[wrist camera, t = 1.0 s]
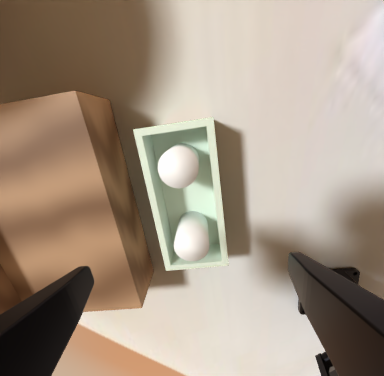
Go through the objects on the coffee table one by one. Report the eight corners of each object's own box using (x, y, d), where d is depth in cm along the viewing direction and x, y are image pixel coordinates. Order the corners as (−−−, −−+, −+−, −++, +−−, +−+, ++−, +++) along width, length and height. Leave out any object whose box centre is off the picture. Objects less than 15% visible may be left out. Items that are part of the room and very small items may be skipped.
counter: (153, 271, 24) (133, 334, 17) (51, 279, 25) (-8, 341, 18) (109, 99, 17) (46, 82, 10) (-24, 122, 19) (-161, 121, 12)
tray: (224, 244, 22) (230, 273, 18) (171, 249, 22) (163, 279, 18) (211, 118, 18) (214, 116, 13) (145, 128, 18) (127, 129, 14)
